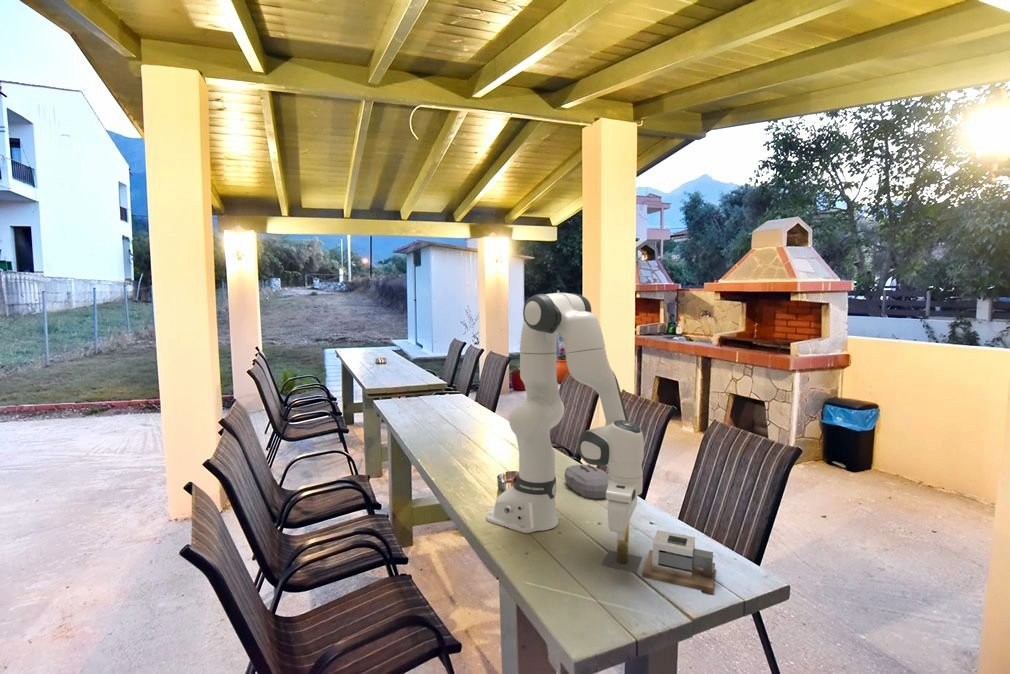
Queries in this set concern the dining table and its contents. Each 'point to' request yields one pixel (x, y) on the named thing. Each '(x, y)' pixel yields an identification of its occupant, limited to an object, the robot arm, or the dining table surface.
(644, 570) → the walnut base
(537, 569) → the dining table surface
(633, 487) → the robot arm
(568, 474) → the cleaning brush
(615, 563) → the rubber mat
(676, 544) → the block
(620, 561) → the brass pin
